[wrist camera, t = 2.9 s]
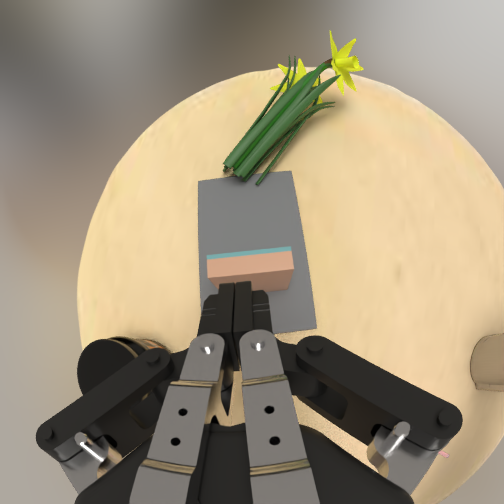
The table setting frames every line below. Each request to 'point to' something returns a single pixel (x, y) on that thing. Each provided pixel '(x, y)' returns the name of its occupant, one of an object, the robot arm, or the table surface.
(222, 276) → the tile
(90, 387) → the supplement container
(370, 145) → the table surface
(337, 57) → the daffodil flowers
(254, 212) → the felt mat
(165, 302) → the table surface
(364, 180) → the table surface
